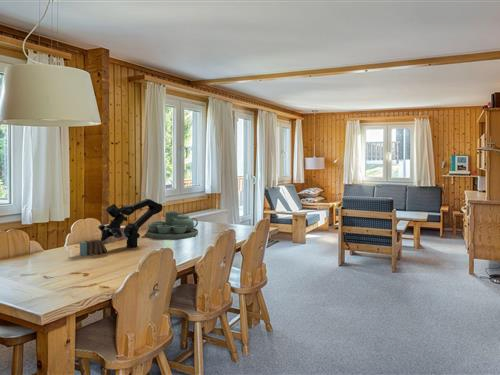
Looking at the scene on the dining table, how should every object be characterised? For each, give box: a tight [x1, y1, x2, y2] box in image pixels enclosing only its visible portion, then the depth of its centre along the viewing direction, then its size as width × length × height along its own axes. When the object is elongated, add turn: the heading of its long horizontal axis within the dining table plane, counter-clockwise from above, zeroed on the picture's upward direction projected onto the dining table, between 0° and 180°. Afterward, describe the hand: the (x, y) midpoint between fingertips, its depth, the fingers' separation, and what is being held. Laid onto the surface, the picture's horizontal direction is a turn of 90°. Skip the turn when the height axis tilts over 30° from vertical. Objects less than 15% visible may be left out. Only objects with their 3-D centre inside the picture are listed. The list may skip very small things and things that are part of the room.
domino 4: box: [98, 239, 108, 253], centre depth 270 cm, size 2×5×8 cm
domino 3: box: [94, 239, 103, 254], centre depth 268 cm, size 2×5×8 cm, turn 50°
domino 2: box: [89, 239, 99, 255], centre depth 266 cm, size 2×5×8 cm, turn 51°
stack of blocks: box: [100, 223, 128, 244], centre depth 309 cm, size 21×6×12 cm, turn 155°
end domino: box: [79, 241, 88, 257], centre depth 261 cm, size 2×5×8 cm, turn 52°
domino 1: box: [84, 240, 93, 256], centre depth 263 cm, size 2×5×8 cm, turn 51°
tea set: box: [145, 210, 199, 240], centre depth 337 cm, size 40×40×16 cm
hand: (101, 241), depth 270 cm, fingers closed
